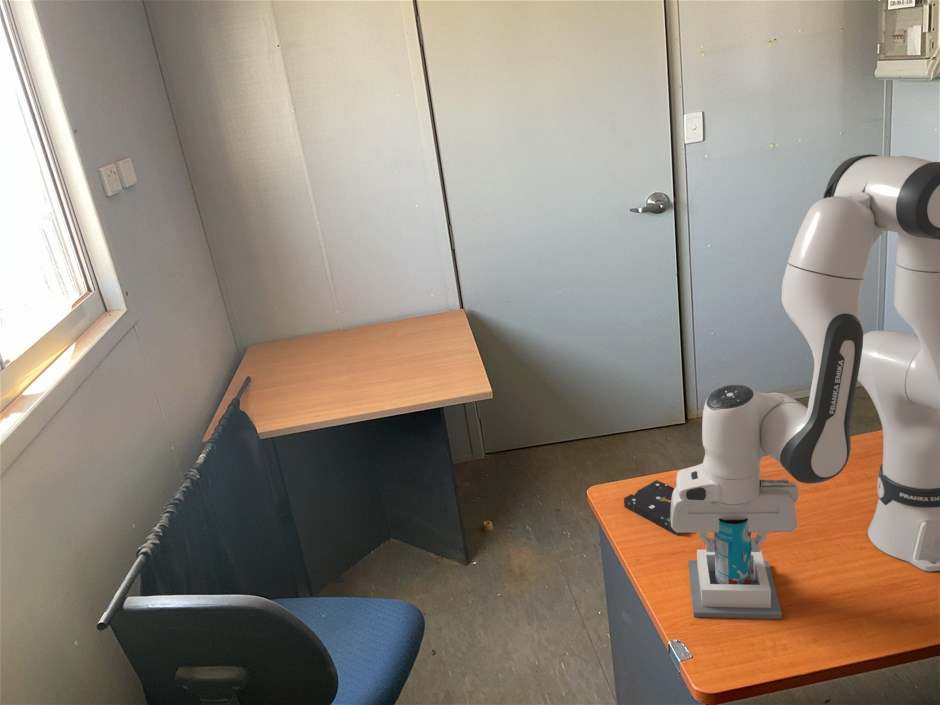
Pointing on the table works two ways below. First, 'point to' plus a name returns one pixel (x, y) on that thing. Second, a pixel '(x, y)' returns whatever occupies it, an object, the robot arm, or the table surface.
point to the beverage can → (733, 553)
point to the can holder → (733, 591)
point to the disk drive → (653, 504)
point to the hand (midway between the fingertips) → (732, 549)
